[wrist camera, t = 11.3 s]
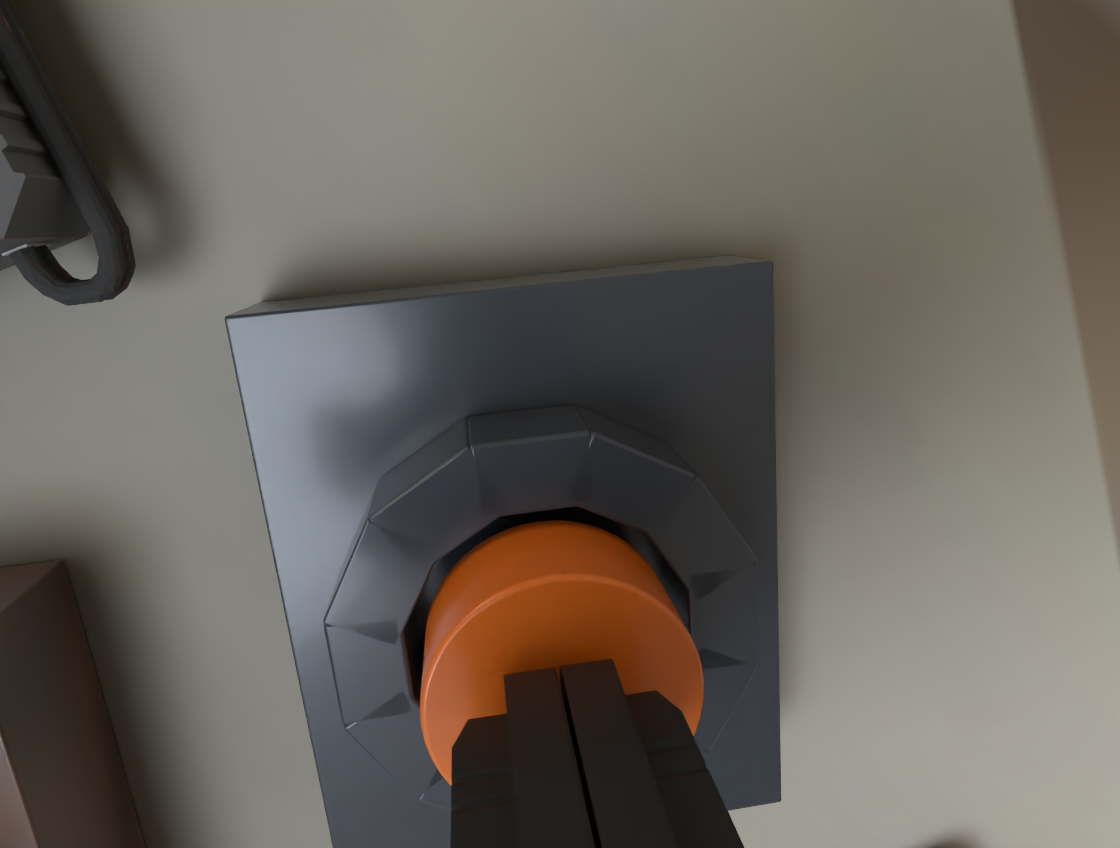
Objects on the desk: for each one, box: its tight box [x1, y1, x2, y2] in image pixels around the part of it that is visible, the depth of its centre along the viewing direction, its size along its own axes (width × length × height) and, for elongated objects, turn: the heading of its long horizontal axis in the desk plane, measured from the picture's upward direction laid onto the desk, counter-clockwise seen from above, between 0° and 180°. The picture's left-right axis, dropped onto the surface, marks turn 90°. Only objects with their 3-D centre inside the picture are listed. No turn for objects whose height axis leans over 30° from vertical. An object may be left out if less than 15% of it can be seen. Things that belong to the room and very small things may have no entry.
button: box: [420, 520, 704, 786], centre depth 12 cm, size 4×4×2 cm
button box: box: [225, 255, 781, 848], centre depth 14 cm, size 11×9×4 cm
